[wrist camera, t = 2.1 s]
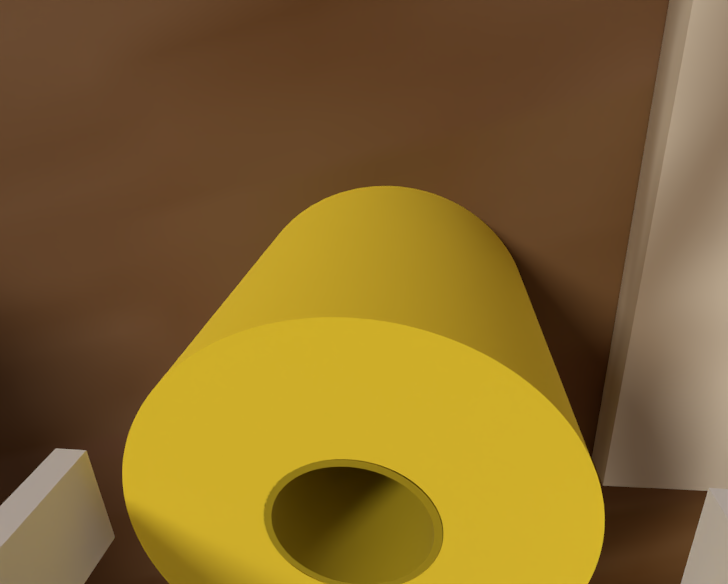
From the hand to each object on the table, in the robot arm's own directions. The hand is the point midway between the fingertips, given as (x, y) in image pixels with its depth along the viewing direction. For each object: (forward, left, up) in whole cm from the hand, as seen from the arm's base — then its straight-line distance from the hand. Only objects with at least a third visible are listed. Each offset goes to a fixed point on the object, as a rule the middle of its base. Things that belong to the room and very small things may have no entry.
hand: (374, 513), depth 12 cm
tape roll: (0, 0, -9) cm, 9 cm away
